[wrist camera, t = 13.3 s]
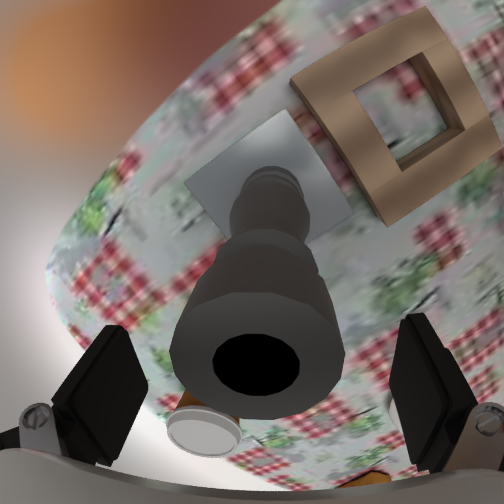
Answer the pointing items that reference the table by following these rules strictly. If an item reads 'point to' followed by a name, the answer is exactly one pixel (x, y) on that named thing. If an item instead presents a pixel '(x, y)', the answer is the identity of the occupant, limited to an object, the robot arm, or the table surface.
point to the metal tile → (270, 154)
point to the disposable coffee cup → (203, 429)
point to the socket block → (366, 134)
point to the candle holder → (261, 312)
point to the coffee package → (369, 480)
